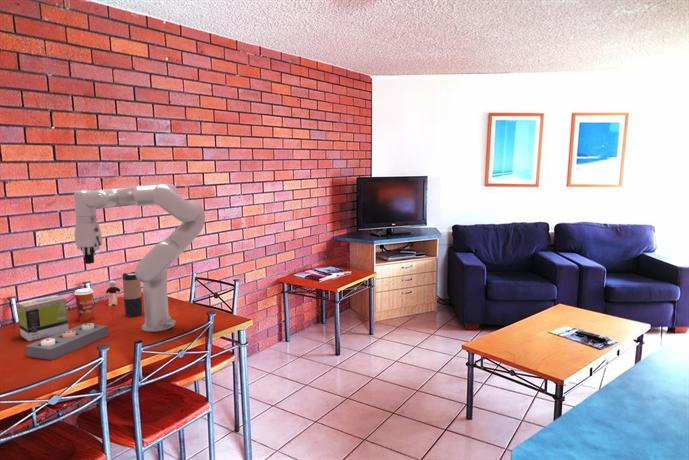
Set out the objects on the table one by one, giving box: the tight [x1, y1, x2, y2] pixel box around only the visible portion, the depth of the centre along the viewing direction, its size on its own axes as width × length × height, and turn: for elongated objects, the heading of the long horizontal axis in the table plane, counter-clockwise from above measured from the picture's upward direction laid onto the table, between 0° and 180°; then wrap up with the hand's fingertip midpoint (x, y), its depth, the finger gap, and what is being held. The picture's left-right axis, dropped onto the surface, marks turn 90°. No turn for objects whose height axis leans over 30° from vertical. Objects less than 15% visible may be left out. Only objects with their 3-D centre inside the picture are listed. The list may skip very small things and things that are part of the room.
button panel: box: [25, 323, 109, 361], centre depth 179 cm, size 12×26×4 cm, turn 163°
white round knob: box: [41, 338, 55, 347], centre depth 170 cm, size 4×4×4 cm
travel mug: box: [122, 271, 143, 318], centre depth 216 cm, size 8×8×20 cm
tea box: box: [16, 294, 70, 342], centre depth 191 cm, size 15×10×15 cm
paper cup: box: [73, 287, 94, 323], centre depth 210 cm, size 8×8×14 cm
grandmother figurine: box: [104, 280, 122, 307], centre depth 233 cm, size 8×4×13 cm, turn 132°
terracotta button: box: [62, 330, 76, 339], centre depth 179 cm, size 4×4×4 cm
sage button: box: [81, 322, 95, 331], centre depth 187 cm, size 4×4×4 cm
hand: (89, 263), depth 193 cm, fingers closed
